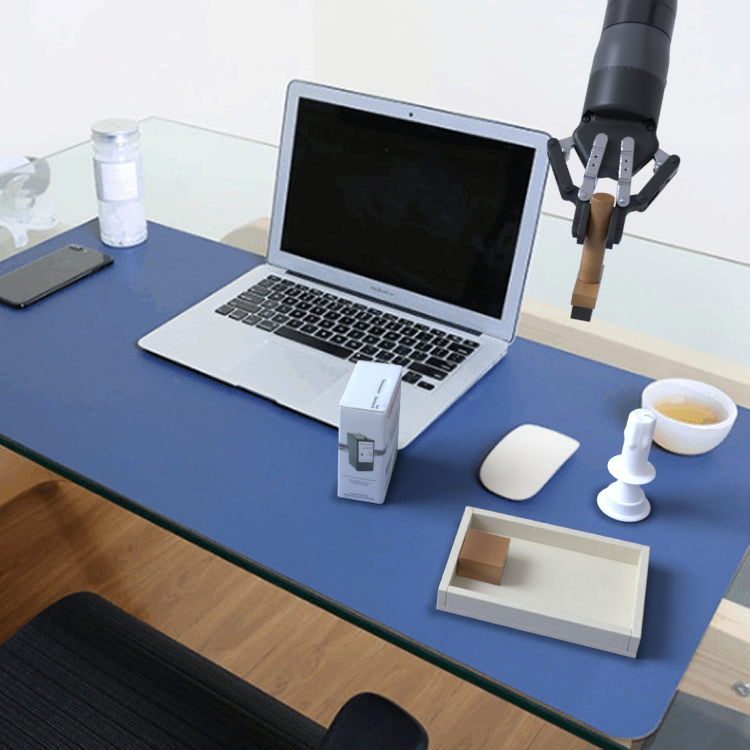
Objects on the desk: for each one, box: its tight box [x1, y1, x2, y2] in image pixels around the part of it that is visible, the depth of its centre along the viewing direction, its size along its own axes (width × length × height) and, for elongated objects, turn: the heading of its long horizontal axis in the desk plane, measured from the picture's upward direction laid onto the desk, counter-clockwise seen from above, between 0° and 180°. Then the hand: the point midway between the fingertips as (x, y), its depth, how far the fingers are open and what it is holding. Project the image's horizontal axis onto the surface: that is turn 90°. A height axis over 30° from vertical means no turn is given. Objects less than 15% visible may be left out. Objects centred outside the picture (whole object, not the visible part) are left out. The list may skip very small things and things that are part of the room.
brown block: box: [457, 529, 511, 586], centre depth 93 cm, size 4×4×2 cm
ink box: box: [337, 359, 403, 505], centre depth 101 cm, size 9×5×12 cm, turn 168°
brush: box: [570, 192, 616, 323], centre depth 100 cm, size 2×7×12 cm, turn 163°
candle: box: [596, 408, 657, 523], centre depth 99 cm, size 5×5×12 cm
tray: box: [435, 505, 651, 659], centre depth 92 cm, size 18×12×3 cm, turn 73°
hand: (594, 243), depth 98 cm, fingers closed on brush, 2 cm apart
